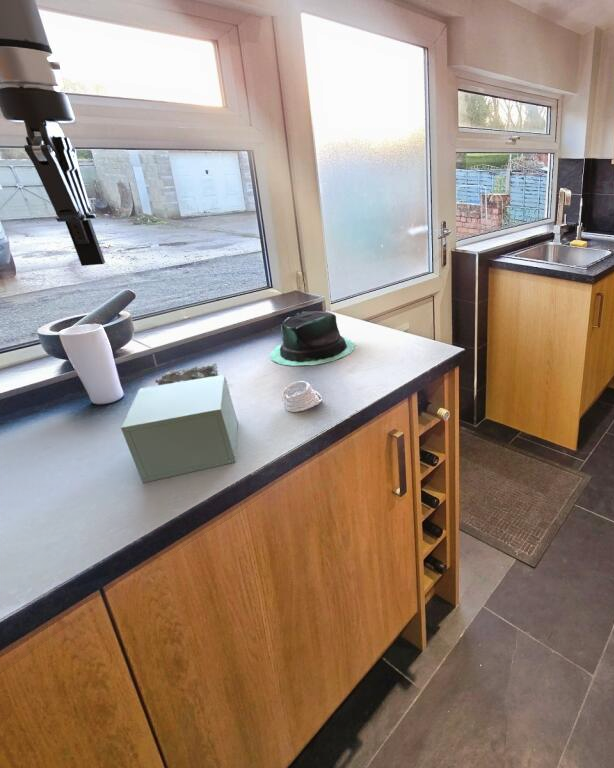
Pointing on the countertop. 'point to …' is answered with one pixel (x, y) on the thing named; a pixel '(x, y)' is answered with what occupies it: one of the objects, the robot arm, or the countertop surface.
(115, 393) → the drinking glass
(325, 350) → the dark green hat
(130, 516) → the countertop surface
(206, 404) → the cabinet
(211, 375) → the egg carton
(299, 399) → the white ribbed cup
